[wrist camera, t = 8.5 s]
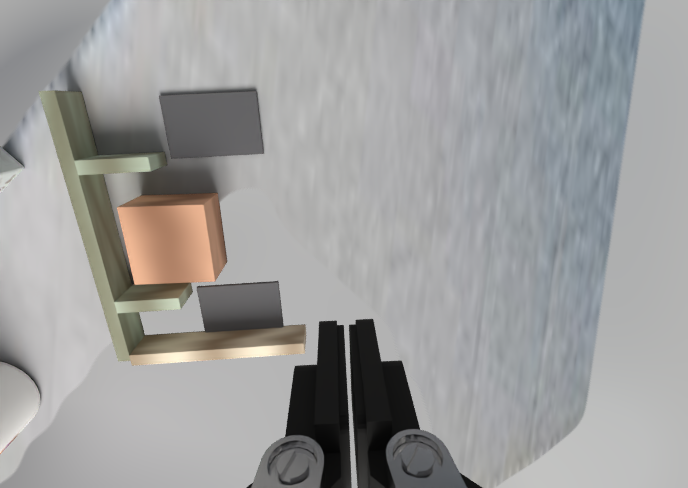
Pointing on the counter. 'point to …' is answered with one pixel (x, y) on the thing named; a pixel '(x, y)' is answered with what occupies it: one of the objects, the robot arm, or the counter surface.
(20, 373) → the milk bottle
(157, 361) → the green-grey pronged frame
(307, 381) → the robot arm
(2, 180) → the supplement box
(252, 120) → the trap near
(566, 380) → the counter surface
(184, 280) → the block
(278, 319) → the plate
